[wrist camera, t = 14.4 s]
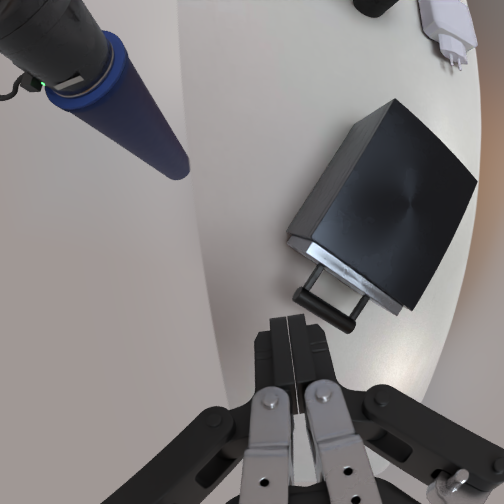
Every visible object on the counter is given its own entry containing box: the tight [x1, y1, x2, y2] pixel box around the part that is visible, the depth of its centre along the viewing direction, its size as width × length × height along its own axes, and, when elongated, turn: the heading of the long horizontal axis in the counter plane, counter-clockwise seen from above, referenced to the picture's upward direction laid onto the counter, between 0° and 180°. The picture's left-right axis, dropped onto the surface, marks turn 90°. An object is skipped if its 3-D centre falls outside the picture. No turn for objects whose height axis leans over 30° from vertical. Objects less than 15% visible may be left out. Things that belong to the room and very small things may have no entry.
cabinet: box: [286, 99, 478, 311], centre depth 31 cm, size 16×13×10 cm
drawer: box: [287, 235, 403, 334], centre depth 31 cm, size 19×12×8 cm, turn 147°
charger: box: [418, 0, 477, 70], centre depth 32 cm, size 5×9×15 cm
